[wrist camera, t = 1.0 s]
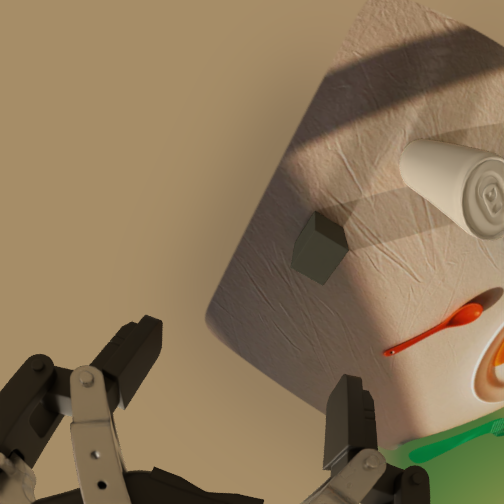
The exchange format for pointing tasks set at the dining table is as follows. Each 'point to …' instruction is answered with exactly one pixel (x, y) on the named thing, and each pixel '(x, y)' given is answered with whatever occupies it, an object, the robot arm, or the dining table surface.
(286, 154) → the dining table surface
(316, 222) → the dark gray rectangular block
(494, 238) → the beverage can
